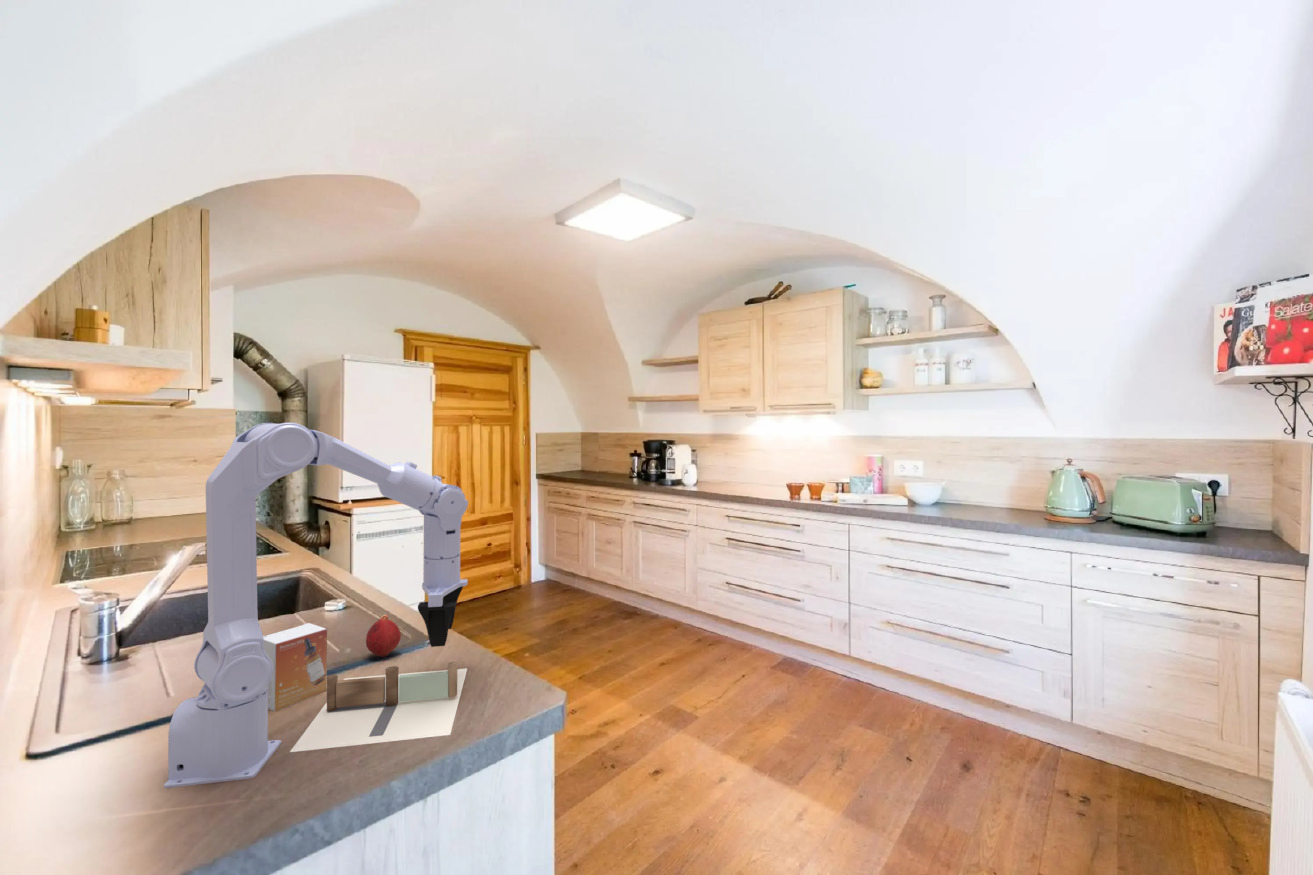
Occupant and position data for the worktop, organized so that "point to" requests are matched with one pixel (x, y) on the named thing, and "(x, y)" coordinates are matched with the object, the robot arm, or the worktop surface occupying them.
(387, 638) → the onion
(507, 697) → the worktop surface
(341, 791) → the worktop surface
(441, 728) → the card
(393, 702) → the fixed fence
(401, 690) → the panel
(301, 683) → the small box
